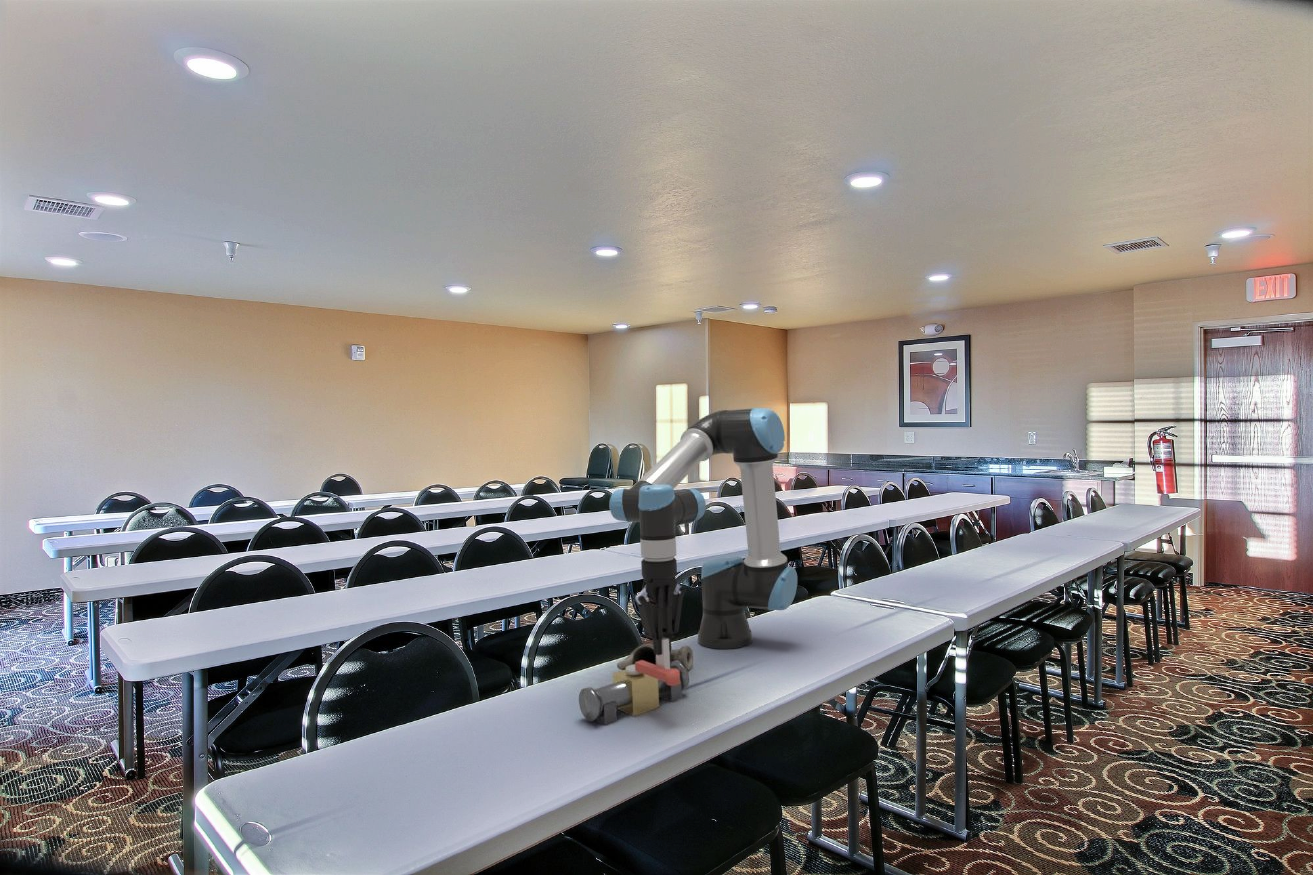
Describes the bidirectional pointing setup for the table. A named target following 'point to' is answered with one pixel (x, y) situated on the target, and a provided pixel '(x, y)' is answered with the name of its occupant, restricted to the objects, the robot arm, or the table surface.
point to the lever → (655, 672)
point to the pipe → (648, 655)
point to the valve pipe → (630, 695)
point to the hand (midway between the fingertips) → (663, 668)
